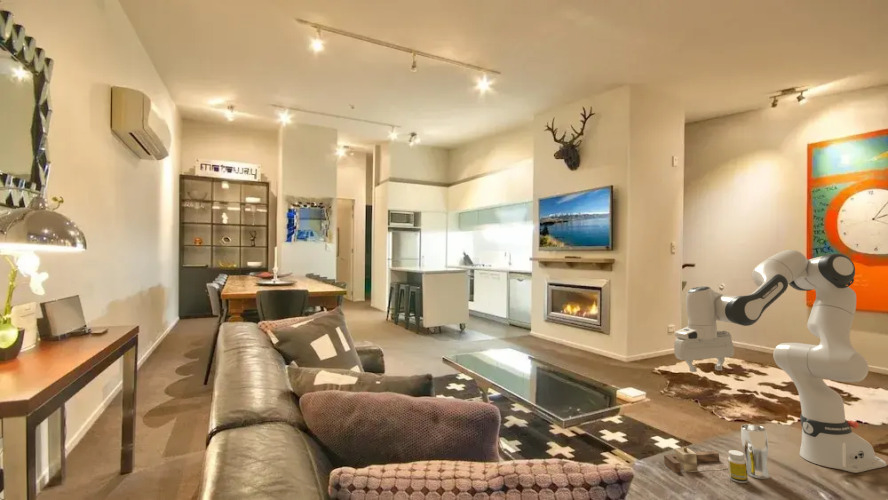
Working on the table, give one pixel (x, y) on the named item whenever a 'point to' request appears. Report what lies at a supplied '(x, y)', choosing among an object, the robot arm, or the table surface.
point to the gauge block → (686, 459)
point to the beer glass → (755, 450)
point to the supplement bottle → (737, 466)
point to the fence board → (701, 457)
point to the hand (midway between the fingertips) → (706, 370)
